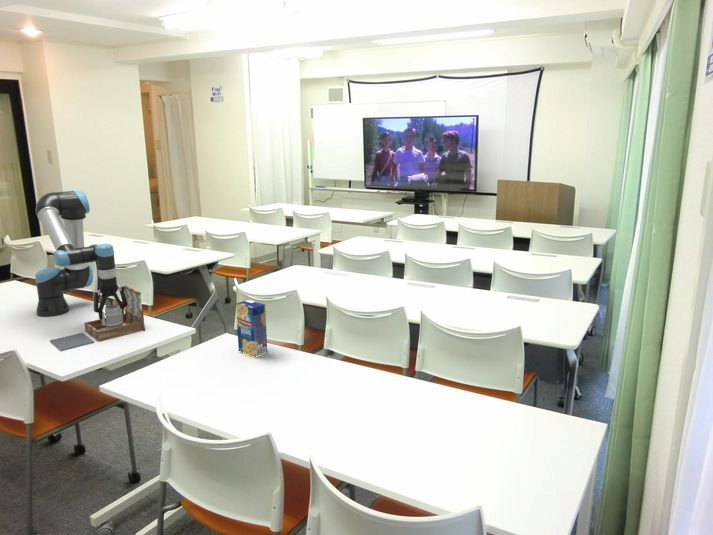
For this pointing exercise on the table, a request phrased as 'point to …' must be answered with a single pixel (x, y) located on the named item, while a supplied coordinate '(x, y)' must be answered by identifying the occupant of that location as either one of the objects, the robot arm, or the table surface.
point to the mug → (113, 315)
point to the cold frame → (130, 317)
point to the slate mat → (71, 341)
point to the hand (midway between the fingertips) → (112, 322)
